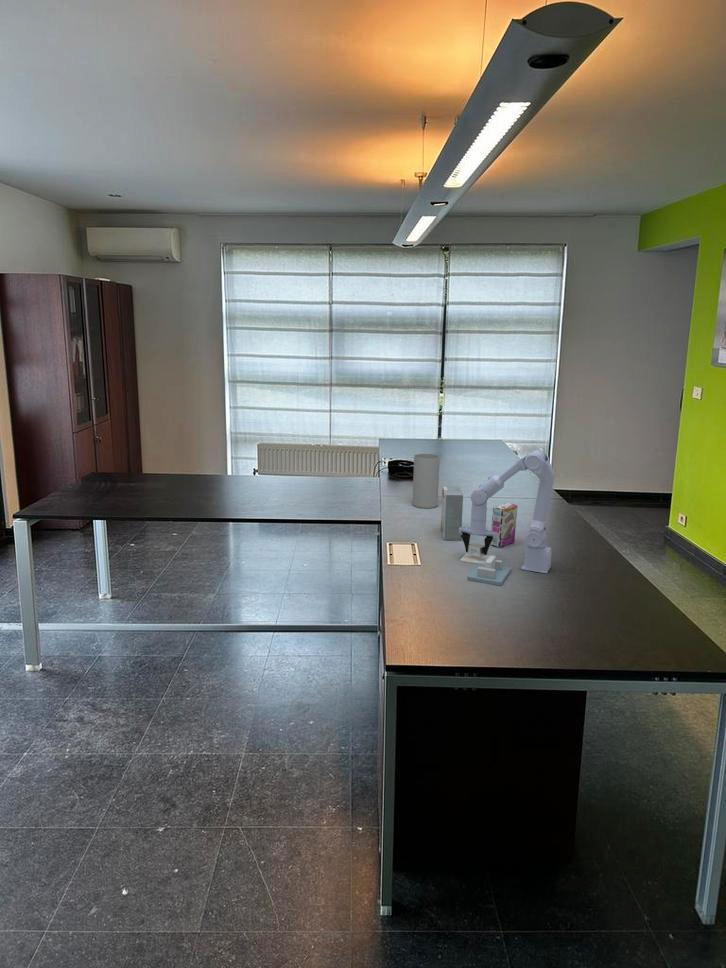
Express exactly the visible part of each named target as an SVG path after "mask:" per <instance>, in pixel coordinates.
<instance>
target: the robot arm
mask: <svg viewBox="0 0 726 968" xmlns="http://www.w3.org/2000/svg"><path fill="white" fill-rule="evenodd" d="M527 470H529V471H530V472H531V473H533V474H535V476H537V478H538V479H539V483H538V484H539V485H538V488H537V495H536V499H535V505H534V510H533V516H532V521H531V523H530V527H529V531H528V532H527V534H526V535H525V549H524V561H523V565H522V566H521V570H523V571H530V572H537V573H542V574H548V573H549V571H550V569H551V564H552V563H551V562H552V547H551V546H547V544H546V542H545V541H544V540H545V539H546V538H547V536H548V532H547V517H548V512H549V507H550V502H551V497H552V492H553V486H554V483H555V482H554V481H555V476H556V475H555V471H554V469H553V466H552V463H551V461H550V458H549V456H548V454H547V453H546V452H545V451H543V450H542V449H534V450H532V451H531V452H530V453H527V454H526V455H523V457H520V458H518V459H517V460H516V461H515V462H514V463H512V464H511V465H510V466H509V467H507V468H506V469H505V470H504V471H503V472H502V473H501V474H499V475H494V474H493V475H490V476H489V477H487V480H486V481H484V482H483V483H482V484H479V485H478V487H477V488H476V489H474V490H473V491H472V493H471V494H470V502H471V511H470V527H465V526H463V527H460V528H459V533H461V541H462V542H463V544H464V547H465V548H464V549H465V553H468V545H469V544H470V541H471V540H470V539H471V535H473V536H481V537H485V538H484V545H485V549H484V555H488V551H489V548H490V546H491V545H490V544H491V542H492V540H493V538H496V537H497V532H493V531H491V530H488V529H486V528H487V510H488V507H487V504H488V500H489V498H492V497H493V496H494V495H496V494H497V493H498V492H499V491H501V490H502V489H503V488H504V487H505V482H506V481H509V479H510V478H511V477H513V476H515V475H516V474H517V473H519V472H520V471H521V472H522V471H524V472H525V471H527Z"/></svg>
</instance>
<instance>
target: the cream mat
mask: <svg viewBox="0 0 726 968" xmlns="http://www.w3.org/2000/svg"><path fill="white" fill-rule="evenodd" d="M476 556H477V553H473V554H471V555H470V554H467V552H465V554H464V555H463V556H462V557H461V558H460V560H459V561H460V562H465V563H469V564H470V563H471V564H476V565H478V564H479V563H483V564H485V559H486V558H489V557H490V556H491V555H488V554H487V555H484V556H482V557H476Z"/></svg>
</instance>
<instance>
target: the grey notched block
mask: <svg viewBox="0 0 726 968" xmlns="http://www.w3.org/2000/svg"><path fill="white" fill-rule="evenodd" d="M484 549H485V544H484V545H483V544H480V543H477V542H472V543H469V545H468V553H467V552H466V553H467V554H470V555H471V554H473V553H475V554H477V556H476V557H482V556H484Z"/></svg>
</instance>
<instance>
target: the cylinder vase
mask: <svg viewBox="0 0 726 968" xmlns="http://www.w3.org/2000/svg"><path fill="white" fill-rule="evenodd" d="M440 458H441V457H440V455H437V454H432V453H418V454H417V453H416V454H414V455H413V477H412V478H413V479H412V506H414V507H416V508H420V509H432V508H433V509H434V508H436V507H438V503H439V486H440V485H439V482H440V481H439V480H440V479H439V478H440V462H441V461H440Z"/></svg>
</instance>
